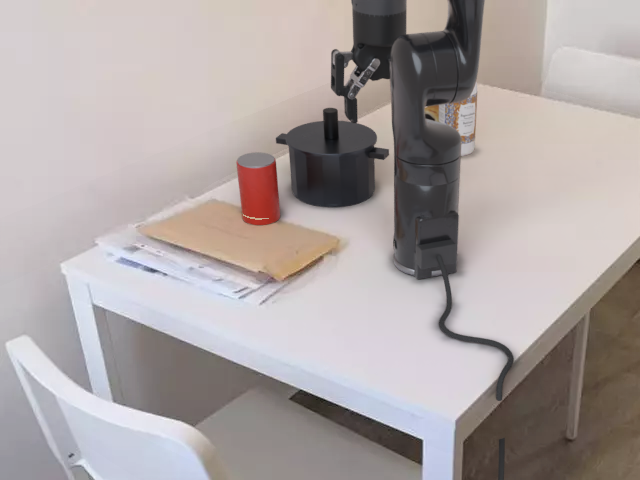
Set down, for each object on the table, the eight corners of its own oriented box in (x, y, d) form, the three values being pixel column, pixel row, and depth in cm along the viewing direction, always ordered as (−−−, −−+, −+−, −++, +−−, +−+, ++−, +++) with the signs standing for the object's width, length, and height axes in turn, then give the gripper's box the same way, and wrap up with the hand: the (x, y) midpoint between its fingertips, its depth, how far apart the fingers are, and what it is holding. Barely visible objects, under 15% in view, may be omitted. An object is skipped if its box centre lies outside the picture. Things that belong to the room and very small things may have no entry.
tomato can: (284, 221, 140) (280, 164, 134) (247, 227, 138) (240, 169, 132) (275, 206, 144) (270, 149, 139) (238, 211, 142) (232, 154, 137)
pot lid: (356, 166, 138) (355, 132, 135) (270, 152, 142) (267, 119, 138) (390, 133, 150) (389, 101, 147) (309, 121, 154) (307, 90, 150)
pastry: (438, 113, 183) (439, 95, 181) (466, 120, 180) (467, 102, 178) (412, 125, 177) (413, 107, 174) (440, 133, 174) (441, 115, 171)
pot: (371, 215, 143) (370, 163, 138) (263, 197, 147) (258, 146, 142) (401, 182, 154) (401, 133, 149) (299, 166, 158) (296, 117, 153)
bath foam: (451, 160, 163) (454, 51, 152) (430, 147, 167) (433, 40, 156) (481, 152, 166) (487, 45, 155) (461, 140, 171) (465, 35, 160)
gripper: (337, 16, 116) (342, 133, 126) (437, 8, 121) (434, 121, 130) (321, 2, 122) (327, 115, 131) (417, -5, 127) (416, 104, 136)
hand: (380, 118), depth 131 cm, fingers open, 8 cm apart
